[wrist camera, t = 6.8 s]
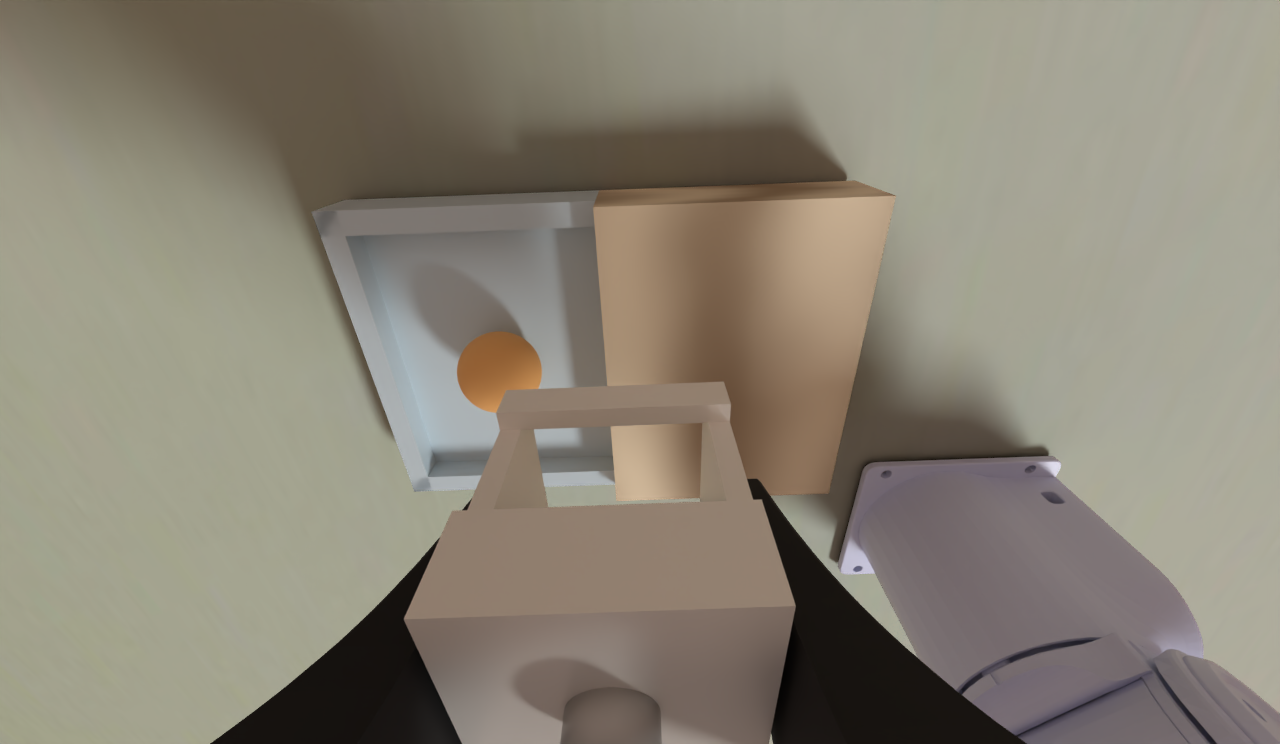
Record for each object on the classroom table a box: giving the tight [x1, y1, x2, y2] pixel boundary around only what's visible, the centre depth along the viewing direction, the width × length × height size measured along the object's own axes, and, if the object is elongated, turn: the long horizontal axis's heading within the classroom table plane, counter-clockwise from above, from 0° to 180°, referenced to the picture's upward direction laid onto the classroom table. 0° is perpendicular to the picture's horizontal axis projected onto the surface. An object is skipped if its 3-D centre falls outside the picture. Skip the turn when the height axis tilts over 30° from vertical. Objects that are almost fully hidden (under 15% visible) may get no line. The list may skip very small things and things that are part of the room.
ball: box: [457, 331, 542, 413], centre depth 17 cm, size 3×3×3 cm
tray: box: [312, 190, 615, 491], centre depth 19 cm, size 9×12×2 cm
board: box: [593, 181, 896, 501], centre depth 18 cm, size 9×12×3 cm
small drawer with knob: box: [404, 382, 796, 744], centre depth 10 cm, size 5×5×7 cm
